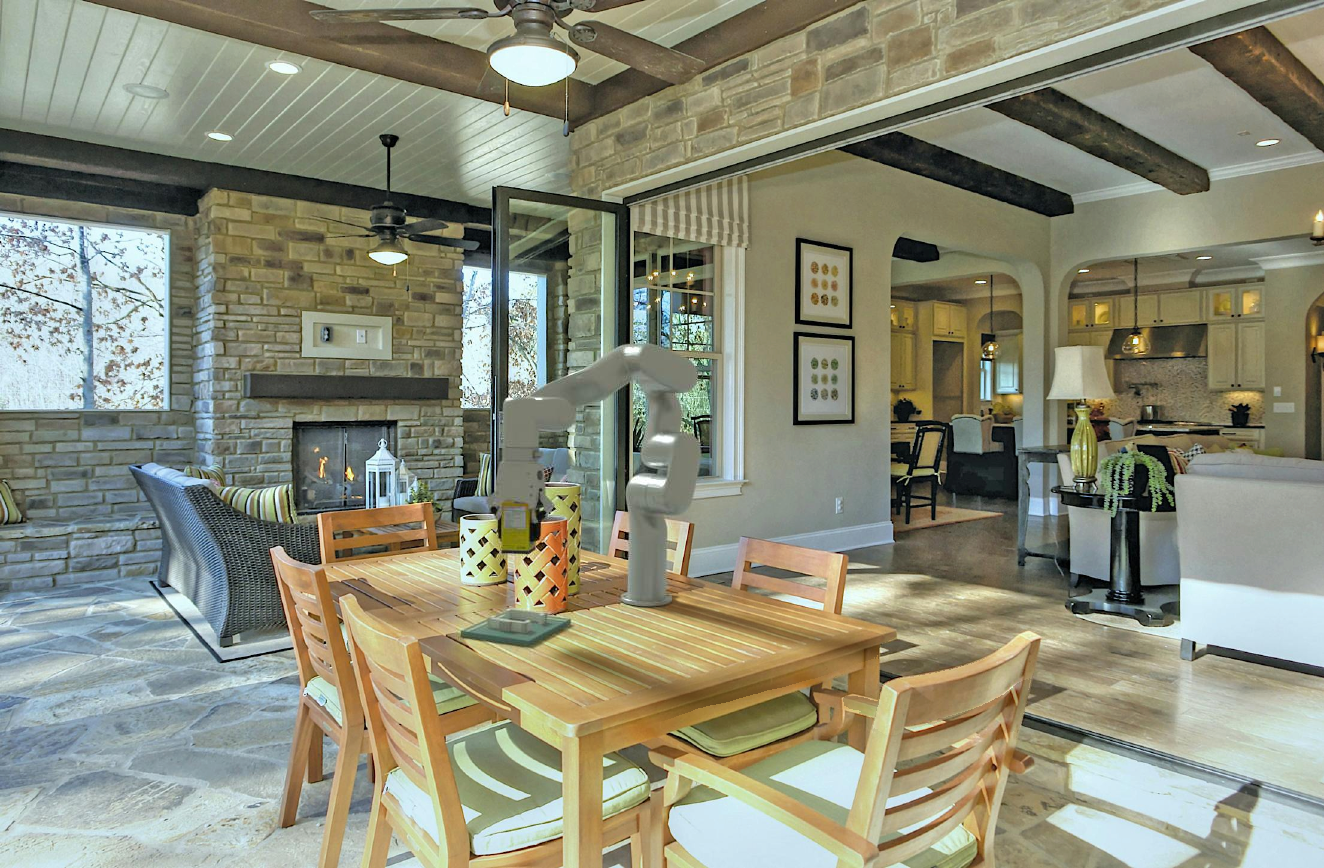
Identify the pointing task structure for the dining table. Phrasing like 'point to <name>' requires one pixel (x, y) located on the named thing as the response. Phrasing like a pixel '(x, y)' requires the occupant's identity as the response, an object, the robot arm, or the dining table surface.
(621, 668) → the dining table surface
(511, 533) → the supplement box
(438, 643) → the dining table surface
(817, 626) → the dining table surface
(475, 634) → the board
